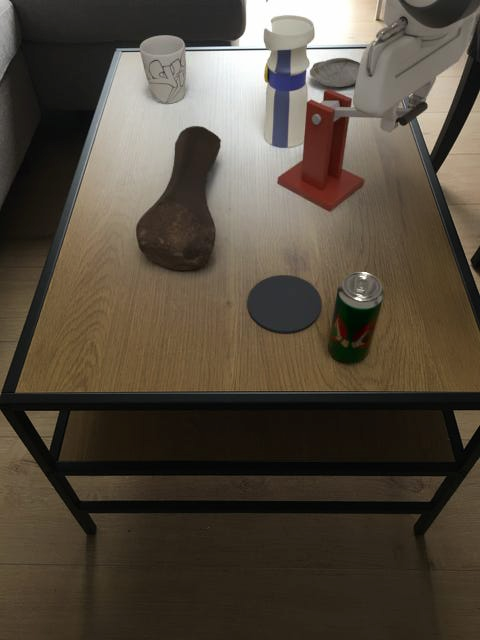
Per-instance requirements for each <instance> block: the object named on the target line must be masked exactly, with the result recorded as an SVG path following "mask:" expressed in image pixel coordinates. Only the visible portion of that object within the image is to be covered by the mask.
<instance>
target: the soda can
mask: <svg viewBox="0 0 480 640" xmlns="http://www.w3.org/2000/svg"><path fill="white" fill-rule="evenodd" d="M384 296H385V293H384V289H383V285H382V282H381V281H380V279H379V278H378V277H377V276H375V275H374V274H372V273H369V272H365V271H354V272H351V273H349V274H346V276H345V277H344V278H343V279H342V281H340V283H339V284H338V287H337V290H336V297H335V301H334V302H335V303H334V307H333V313H332V320H331V325H330V332H329V337H328V343H327V346H328V351H329V353H330V356H332V357H333V358H334V359H335V360H337V361H339V362H340V363H343V364H348V365H349V364H351V365H352V364H357V363H360V362H362V361H364V360H365V359H366V358H367V356H368V354H369V352H370V348H371V344H372V341H373V337H374V333H375V331H376V327H377V323H378V319H379V315H380V312H381V308H382V305H383V301H384Z"/></svg>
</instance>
